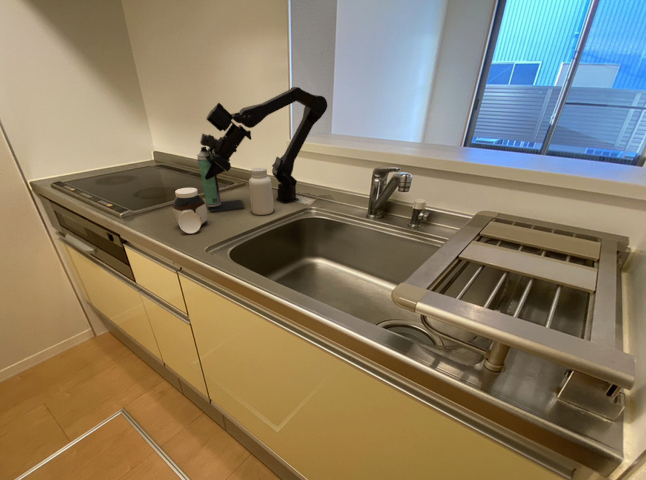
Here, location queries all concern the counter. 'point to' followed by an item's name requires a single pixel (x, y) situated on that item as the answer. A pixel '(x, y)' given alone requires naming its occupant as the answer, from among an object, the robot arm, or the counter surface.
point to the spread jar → (189, 210)
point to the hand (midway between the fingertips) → (205, 177)
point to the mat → (227, 206)
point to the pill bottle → (261, 192)
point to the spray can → (211, 184)
